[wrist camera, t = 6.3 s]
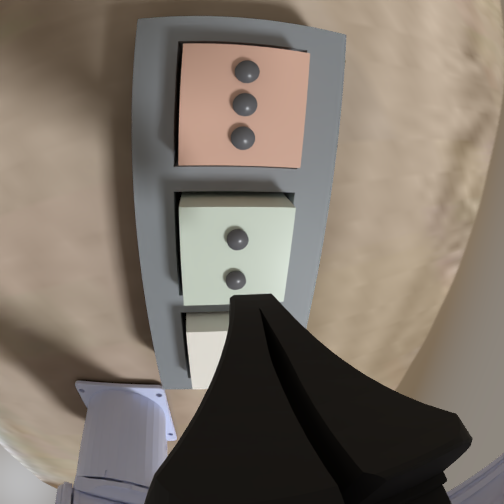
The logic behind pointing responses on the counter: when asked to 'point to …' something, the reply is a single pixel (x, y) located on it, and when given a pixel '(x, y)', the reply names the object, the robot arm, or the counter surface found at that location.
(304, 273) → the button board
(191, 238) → the tile
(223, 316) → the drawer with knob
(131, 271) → the counter surface
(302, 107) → the three-pip tile
